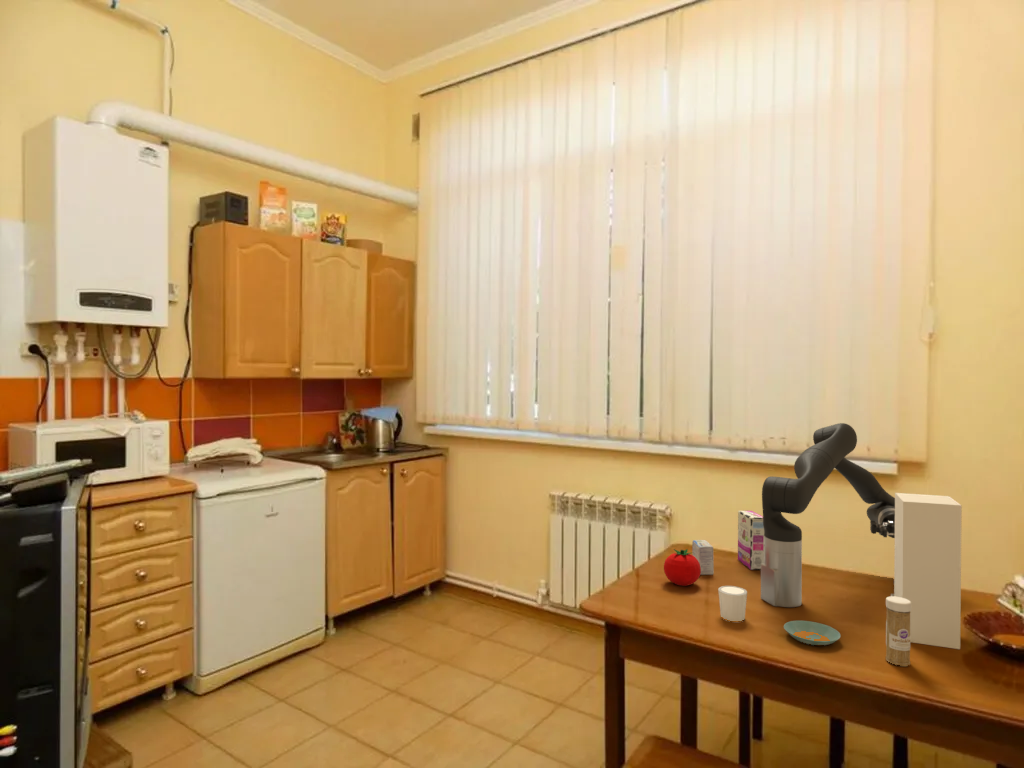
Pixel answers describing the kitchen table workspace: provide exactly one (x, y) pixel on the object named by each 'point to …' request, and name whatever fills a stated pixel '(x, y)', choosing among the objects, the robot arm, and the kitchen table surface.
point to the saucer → (812, 627)
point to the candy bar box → (750, 539)
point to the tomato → (682, 568)
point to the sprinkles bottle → (898, 630)
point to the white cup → (732, 602)
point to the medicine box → (703, 556)
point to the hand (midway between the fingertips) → (903, 535)
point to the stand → (929, 566)
